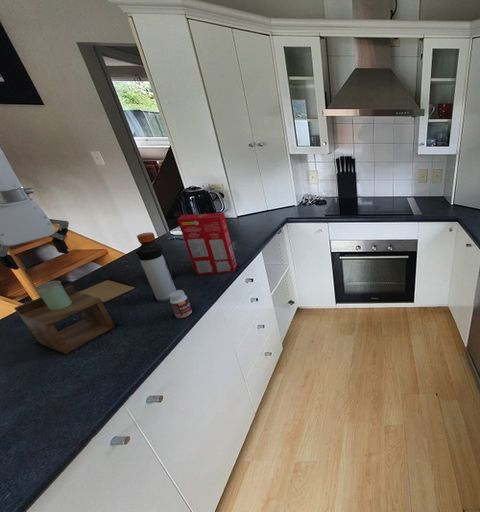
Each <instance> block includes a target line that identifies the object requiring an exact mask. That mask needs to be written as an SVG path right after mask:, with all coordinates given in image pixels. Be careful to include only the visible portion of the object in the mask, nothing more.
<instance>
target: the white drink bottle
mask: <svg viewBox="0 0 480 512" xmlns="http://www.w3.org/2000/svg"><path fill="white" fill-rule="evenodd" d="M136 238H137V241H138V242H139V244H140V246H139V248H138V249H141V248H146V247H157V248H158V247H159V248H160V250H161V253H162V255H163V257H164V260H165V262H166V265H167V268H168V270H169V273H170V275H171V278H172V280H173V279H174V275H173V272H172V270H171V267H170V265H169V262H168V259H167V256H166V254H165V251H164V249H163V246H162V244H161V243H159V242H157V241H156V236H155V233H154V232H151V231H149V232H148V231H147V232H142V233H139V234H136Z"/></svg>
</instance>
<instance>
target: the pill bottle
mask: <svg viewBox="0 0 480 512" xmlns="http://www.w3.org/2000/svg"><path fill="white" fill-rule="evenodd" d="M169 297H170V300H169V303H170V306H171V309H172V311H173V313H174V316H175V317H176V318H179V319H183V318H186V317H188V316H190V315H191V314H192V312H193V309H192V306H191V303H190V301H189V298H188V296H187V295H186V294H185V291H184V290H183V289H176V291H173V292H171V293H170V294H169Z"/></svg>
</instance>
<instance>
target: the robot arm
mask: <svg viewBox="0 0 480 512" xmlns="http://www.w3.org/2000/svg"><path fill="white" fill-rule="evenodd" d="M34 193H35V192H34V190H33V189H32V188H31V187H24V186H23V185H22V184H21V181H20V180H19V178H18V177H17V175H16V172H15V171H14V169H13V167H12V165H11V164H10V161H9V160H8V158H7V157H6V155H5V153H4V151H3V150H2V148H1V147H0V263H1V265H2V266H3V267H4V268H6V269H10V270H15V271H17V270H19V269H20V266H19V264H18V263H17V261H16V260H15V258H14V257H13V256H12V255H11V254H9V253H8V252H9V251H10V249H11V247H15V246H17V245H18V246H19V245H22V244H26V243H30V242H34V241H37V240H40V239H44V238H48V237H49V238H52V239H51V242H52V244H53V246H54V248H55V249H56V251H57V253H59V254H65V255H67V254H69V251H68V249H69V246H68V245H67V243H66V242H65V239H66V235H67V234H68V232H69V224H70V222H69V221H68V220H63V219H55V218H49V217H48V215H47V214H46V213H45V211H44V210H43V208H41V206H40V205H39V204H38V203H37V202H36V201H35V199H33V198H30V194H31V195H32V194H34ZM54 225H58V227H59V228H58V229H57V231H56V228H55V226H54Z"/></svg>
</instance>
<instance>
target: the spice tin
mask: <svg viewBox="0 0 480 512" xmlns="http://www.w3.org/2000/svg"><path fill="white" fill-rule="evenodd" d="M64 288H65V287H64V286H63V285H62V282H61V280H50V281H46V282H42V283H41V284H40V283H39V284H38V285H37V286H35V287H34V289H35V291H36V292H37V293H38V295H39V296H40V297H42V299H43V300H44V302H45V303H46V305H47V307H48V308H49V309H50V310H59V309H62V308H65V307H67V306H69V305H70V304H71V303H72V301H71V300H70V298H69V296H68V295H67V293H66V291H65V290H64Z"/></svg>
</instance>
